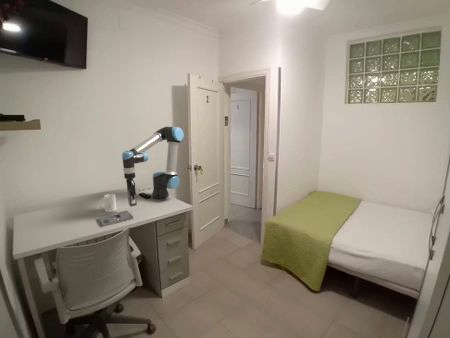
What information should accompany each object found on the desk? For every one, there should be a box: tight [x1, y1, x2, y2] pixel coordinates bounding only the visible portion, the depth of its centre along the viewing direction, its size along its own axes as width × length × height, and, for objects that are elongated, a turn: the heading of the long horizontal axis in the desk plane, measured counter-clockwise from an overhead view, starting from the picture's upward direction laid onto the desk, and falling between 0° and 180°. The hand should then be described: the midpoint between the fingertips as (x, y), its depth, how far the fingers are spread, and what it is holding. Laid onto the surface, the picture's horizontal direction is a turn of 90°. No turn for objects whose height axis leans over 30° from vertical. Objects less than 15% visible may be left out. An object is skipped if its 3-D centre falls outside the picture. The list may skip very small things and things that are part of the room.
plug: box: [127, 190, 138, 207], centre depth 174 cm, size 4×4×14 cm
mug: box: [99, 193, 118, 213], centre depth 180 cm, size 12×8×12 cm
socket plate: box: [97, 210, 134, 228], centre depth 165 cm, size 20×14×3 cm
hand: (132, 202), depth 175 cm, fingers closed on plug, 4 cm apart
